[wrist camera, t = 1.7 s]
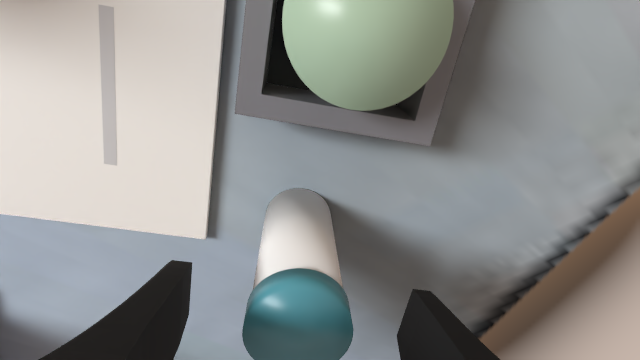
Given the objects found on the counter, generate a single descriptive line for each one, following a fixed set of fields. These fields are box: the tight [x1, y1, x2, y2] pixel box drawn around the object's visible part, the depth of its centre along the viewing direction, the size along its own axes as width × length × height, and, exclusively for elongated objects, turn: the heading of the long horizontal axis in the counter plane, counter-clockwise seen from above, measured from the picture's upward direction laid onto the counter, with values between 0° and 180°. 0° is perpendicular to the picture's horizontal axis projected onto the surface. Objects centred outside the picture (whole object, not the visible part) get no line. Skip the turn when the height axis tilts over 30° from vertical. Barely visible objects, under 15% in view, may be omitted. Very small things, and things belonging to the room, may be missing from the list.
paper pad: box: [0, 0, 227, 239], centre depth 14 cm, size 12×9×1 cm
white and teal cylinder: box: [242, 188, 353, 360], centre depth 14 cm, size 3×3×7 cm
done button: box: [282, 0, 454, 111], centre depth 11 cm, size 5×5×3 cm
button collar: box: [235, 0, 475, 146], centre depth 13 cm, size 7×7×2 cm
